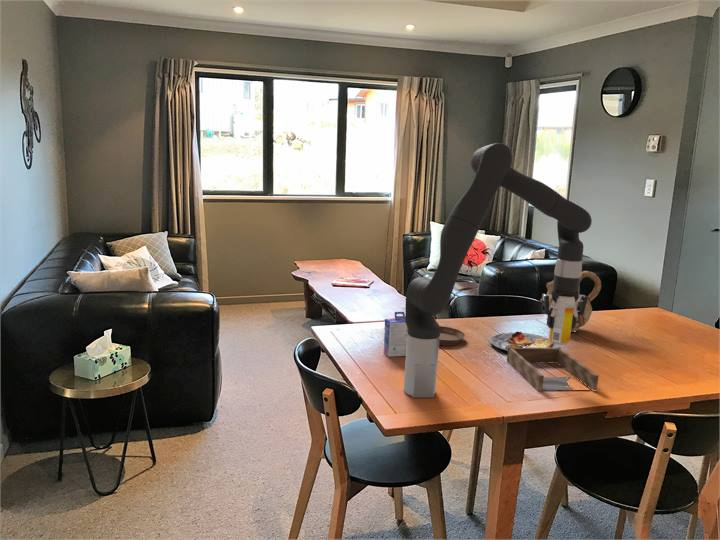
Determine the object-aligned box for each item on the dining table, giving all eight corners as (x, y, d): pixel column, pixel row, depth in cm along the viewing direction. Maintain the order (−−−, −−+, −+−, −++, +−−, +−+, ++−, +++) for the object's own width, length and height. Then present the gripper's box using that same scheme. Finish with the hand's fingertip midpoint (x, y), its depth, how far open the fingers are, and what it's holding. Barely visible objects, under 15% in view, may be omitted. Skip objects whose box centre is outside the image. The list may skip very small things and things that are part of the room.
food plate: (514, 333, 229) (515, 324, 228) (570, 349, 213) (571, 340, 212) (477, 347, 212) (478, 338, 211) (536, 366, 196) (537, 356, 195)
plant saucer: (450, 331, 228) (451, 324, 228) (473, 346, 212) (474, 338, 211) (409, 334, 223) (409, 326, 222) (429, 349, 206) (429, 341, 206)
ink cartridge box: (408, 350, 203) (411, 310, 201) (415, 355, 198) (418, 314, 195) (382, 352, 200) (384, 311, 197) (388, 357, 195) (390, 315, 192)
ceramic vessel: (560, 321, 250) (567, 264, 245) (602, 332, 236) (610, 272, 231) (535, 327, 239) (542, 268, 234) (578, 340, 224) (586, 277, 219)
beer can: (571, 342, 180) (577, 294, 177) (566, 346, 175) (573, 298, 172) (551, 338, 183) (556, 291, 180) (546, 342, 178) (552, 295, 175)
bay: (596, 391, 175) (598, 375, 174) (538, 391, 172) (540, 375, 171) (558, 361, 199) (560, 347, 198) (506, 361, 197) (508, 347, 196)
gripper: (550, 276, 170) (544, 331, 173) (596, 277, 172) (589, 332, 175) (539, 271, 177) (533, 324, 181) (583, 272, 179) (576, 324, 183)
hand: (560, 327), depth 178 cm, fingers closed on beer can, 6 cm apart
